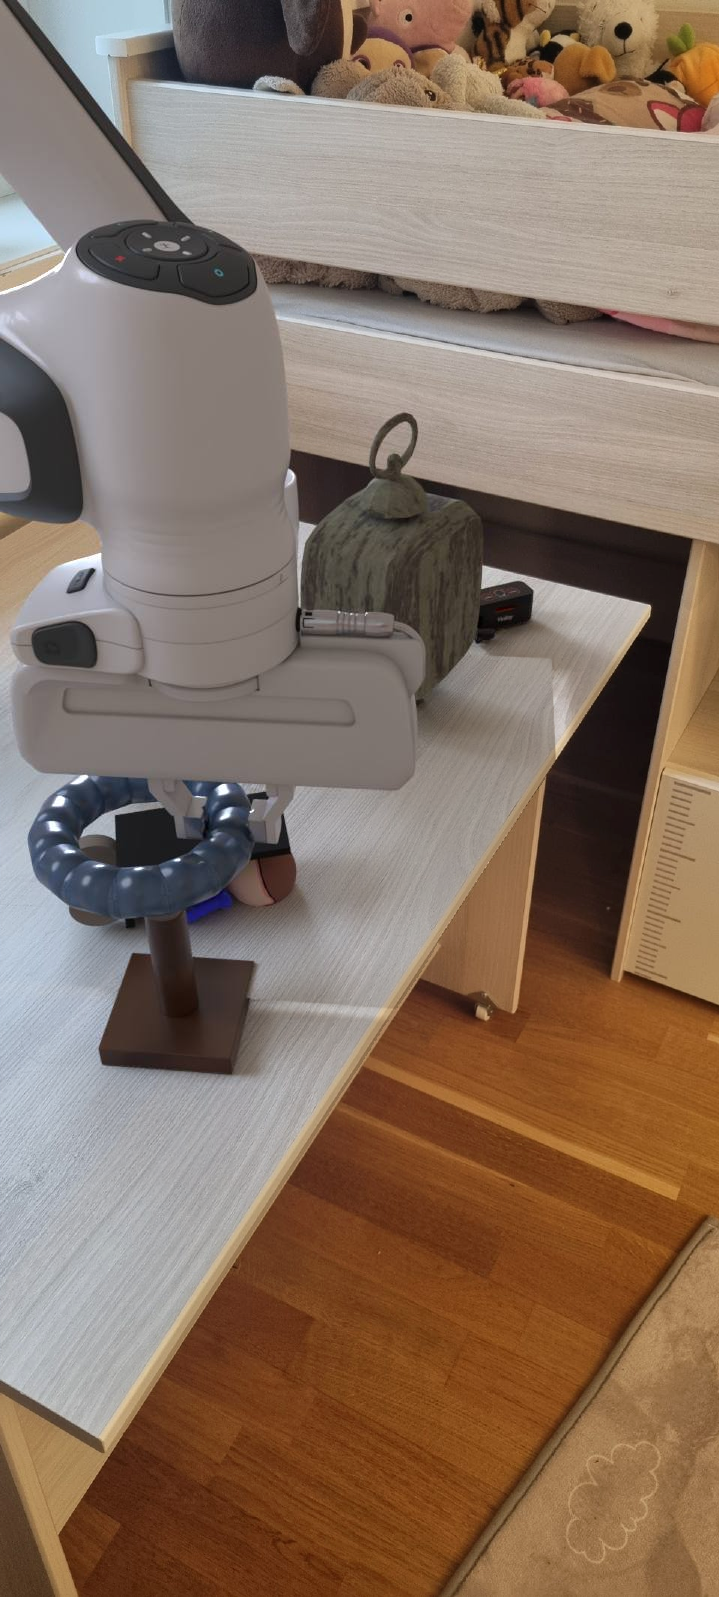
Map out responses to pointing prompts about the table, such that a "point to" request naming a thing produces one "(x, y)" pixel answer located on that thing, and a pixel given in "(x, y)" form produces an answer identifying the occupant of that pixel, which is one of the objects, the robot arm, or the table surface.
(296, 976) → the table surface
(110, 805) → the blue ring
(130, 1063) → the stand
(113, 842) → the figurine character
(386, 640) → the robot arm
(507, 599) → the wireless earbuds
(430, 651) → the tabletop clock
